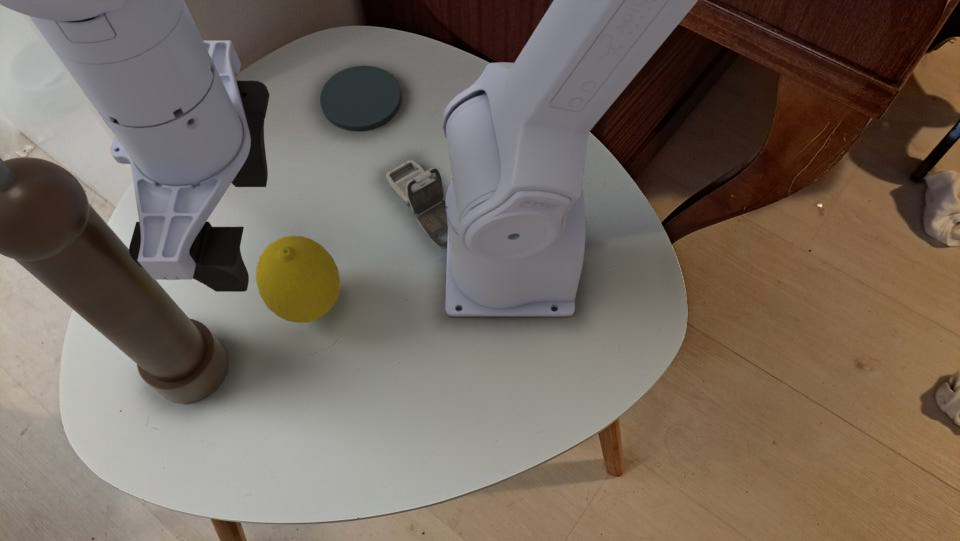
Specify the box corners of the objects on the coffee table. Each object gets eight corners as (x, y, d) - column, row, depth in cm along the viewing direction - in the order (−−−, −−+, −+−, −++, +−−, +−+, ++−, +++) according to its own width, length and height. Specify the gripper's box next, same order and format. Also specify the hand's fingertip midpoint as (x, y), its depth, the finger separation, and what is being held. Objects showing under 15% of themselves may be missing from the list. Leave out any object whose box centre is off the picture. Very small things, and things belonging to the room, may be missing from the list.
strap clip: (383, 180, 60) (375, 148, 56) (413, 162, 60) (408, 129, 57) (440, 252, 56) (436, 223, 52) (472, 233, 57) (470, 203, 53)
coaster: (403, 69, 65) (402, 65, 65) (398, 131, 62) (398, 126, 61) (325, 70, 65) (324, 65, 65) (316, 131, 62) (315, 126, 61)
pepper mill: (234, 335, 53) (63, 115, 32) (221, 403, 50) (26, 215, 29) (163, 334, 53) (-55, 116, 32) (147, 403, 50) (-101, 215, 29)
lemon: (336, 345, 52) (312, 296, 45) (263, 332, 53) (228, 281, 46) (357, 279, 55) (338, 222, 48) (288, 267, 55) (258, 209, 48)
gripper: (108, -25, 38) (201, 142, 49) (20, 210, 31) (153, 337, 43) (243, -26, 37) (304, 141, 49) (186, 210, 30) (273, 338, 42)
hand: (242, 232), depth 46 cm, fingers open, 7 cm apart
